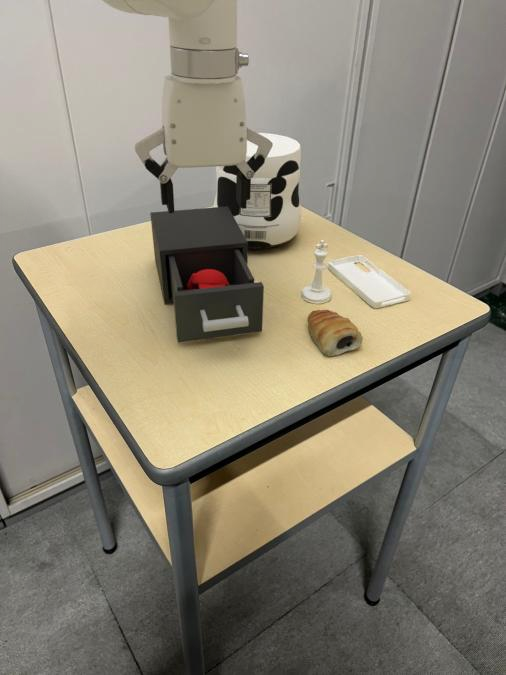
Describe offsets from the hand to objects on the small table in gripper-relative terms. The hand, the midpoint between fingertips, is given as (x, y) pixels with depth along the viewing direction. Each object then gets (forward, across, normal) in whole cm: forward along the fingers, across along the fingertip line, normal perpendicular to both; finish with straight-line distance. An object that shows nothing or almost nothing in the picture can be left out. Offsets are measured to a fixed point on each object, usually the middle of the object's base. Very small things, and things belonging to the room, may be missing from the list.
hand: (206, 207), depth 69 cm
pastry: (+18, -17, +9) cm, 26 cm away
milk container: (+18, -15, -27) cm, 35 cm away
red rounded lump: (+16, 0, -1) cm, 16 cm away
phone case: (+18, -29, -5) cm, 34 cm away
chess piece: (+18, -19, -3) cm, 26 cm away
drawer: (+17, -1, +2) cm, 17 cm away
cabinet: (+18, -1, -13) cm, 22 cm away
